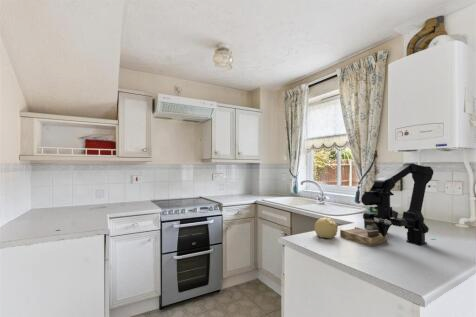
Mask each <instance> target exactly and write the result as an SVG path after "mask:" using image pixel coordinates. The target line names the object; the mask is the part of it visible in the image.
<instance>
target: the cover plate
mask: <svg viewBox="0 0 476 317" xmlns="http://www.w3.org/2000/svg"><path fill="white" fill-rule="evenodd" d="M344 230H345V231H348V232H351V233H355V234H358V235H361V236H365V237H368V238H372V237H377V236H381V235H379V230H373V231H365V230H361V229H357V228H355V227H354V228H350V229H344Z"/></svg>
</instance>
